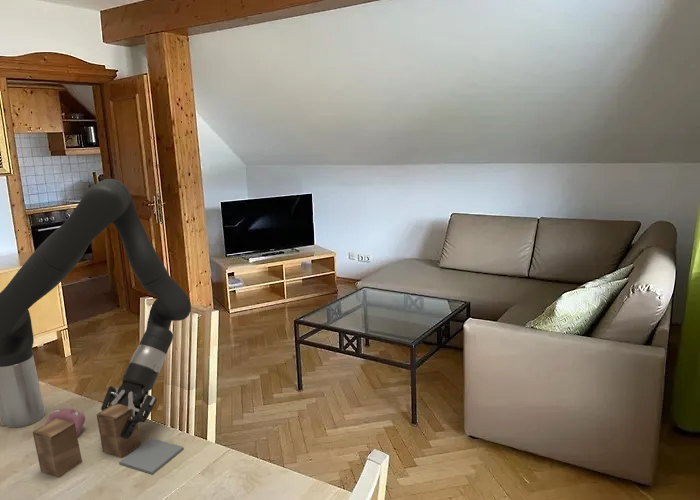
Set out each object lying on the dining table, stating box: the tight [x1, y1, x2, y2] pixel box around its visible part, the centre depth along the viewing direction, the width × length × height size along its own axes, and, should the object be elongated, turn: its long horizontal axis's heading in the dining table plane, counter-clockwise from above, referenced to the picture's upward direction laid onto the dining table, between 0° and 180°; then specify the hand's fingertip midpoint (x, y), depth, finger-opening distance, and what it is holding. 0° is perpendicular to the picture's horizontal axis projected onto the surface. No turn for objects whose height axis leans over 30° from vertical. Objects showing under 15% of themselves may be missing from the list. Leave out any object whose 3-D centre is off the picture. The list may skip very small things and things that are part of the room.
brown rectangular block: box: [96, 403, 142, 459], centre depth 130 cm, size 6×6×10 cm
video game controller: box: [44, 408, 86, 437], centre depth 139 cm, size 10×5×7 cm, turn 75°
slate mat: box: [118, 437, 184, 476], centre depth 127 cm, size 10×10×1 cm
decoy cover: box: [32, 418, 83, 478], centre depth 124 cm, size 6×6×10 cm
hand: (113, 434), depth 129 cm, fingers open, 6 cm apart
